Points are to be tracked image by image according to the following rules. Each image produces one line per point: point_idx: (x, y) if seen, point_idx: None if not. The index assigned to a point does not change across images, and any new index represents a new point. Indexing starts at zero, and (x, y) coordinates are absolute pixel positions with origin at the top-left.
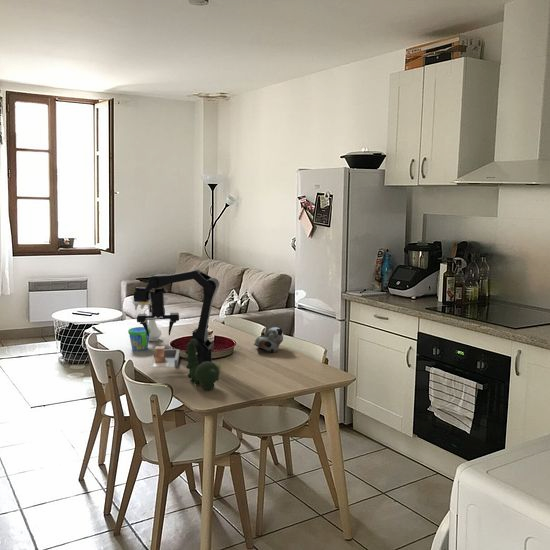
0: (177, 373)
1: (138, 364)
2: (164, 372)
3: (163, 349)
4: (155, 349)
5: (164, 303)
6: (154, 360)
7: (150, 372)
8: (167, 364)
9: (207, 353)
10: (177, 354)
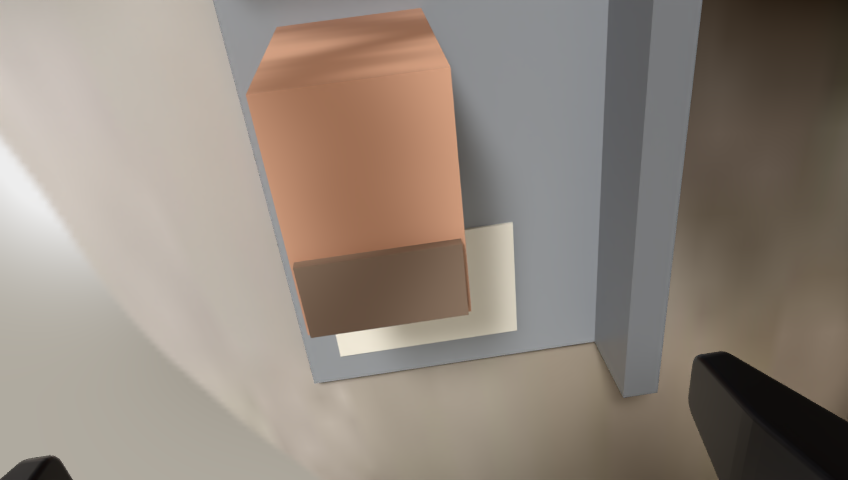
0: (622, 468)
1: (101, 256)
2: (497, 458)
3: (469, 297)
4: (324, 335)
5: None
6: None
7: (358, 471)
8: (504, 283)
9: None
10: (671, 153)
